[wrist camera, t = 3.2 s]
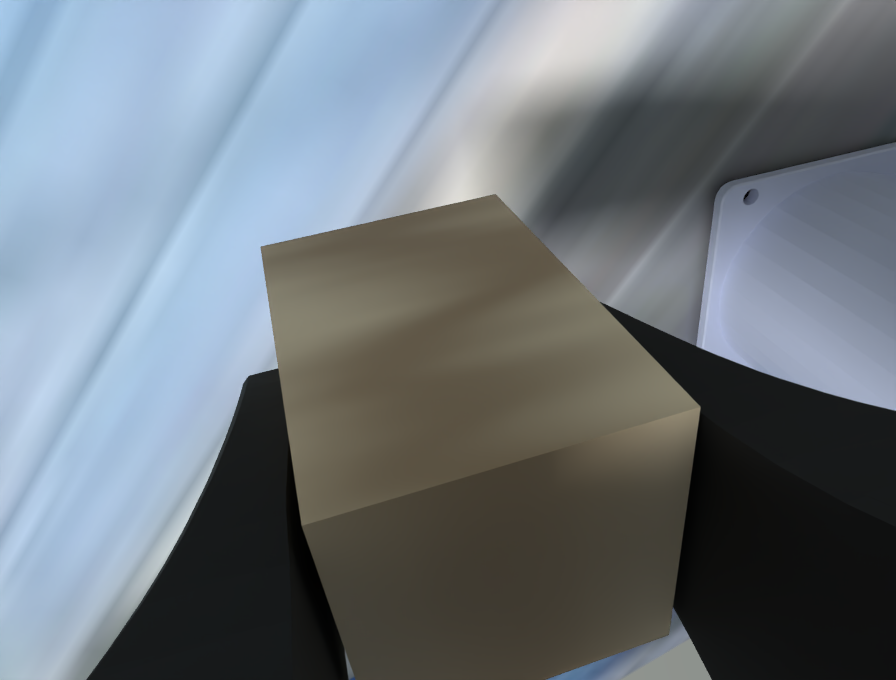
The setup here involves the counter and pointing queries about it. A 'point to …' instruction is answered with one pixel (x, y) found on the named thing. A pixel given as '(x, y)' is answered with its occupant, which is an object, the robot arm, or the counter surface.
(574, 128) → the counter surface
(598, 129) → the counter surface
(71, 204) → the counter surface
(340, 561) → the peg
